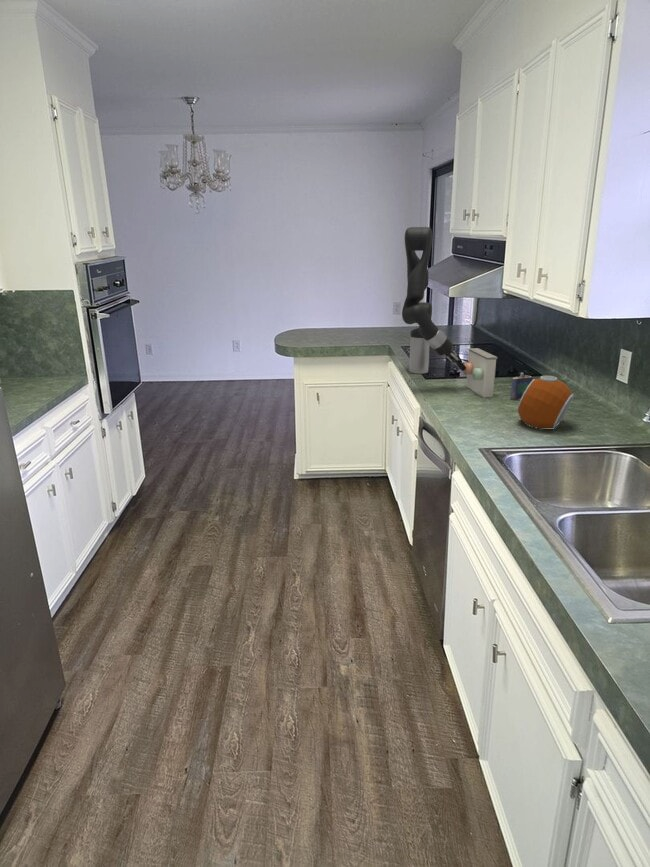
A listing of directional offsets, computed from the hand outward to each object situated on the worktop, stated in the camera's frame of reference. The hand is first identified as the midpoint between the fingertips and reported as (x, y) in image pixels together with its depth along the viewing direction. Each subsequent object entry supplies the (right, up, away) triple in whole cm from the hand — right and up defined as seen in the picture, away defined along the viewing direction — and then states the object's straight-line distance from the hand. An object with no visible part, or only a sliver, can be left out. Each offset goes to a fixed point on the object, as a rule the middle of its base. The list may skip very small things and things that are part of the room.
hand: (464, 369), depth 250 cm
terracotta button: (+5, -2, +2) cm, 5 cm away
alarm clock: (+18, -25, -42) cm, 52 cm away
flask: (+20, -13, -11) cm, 27 cm away
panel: (+6, -10, -1) cm, 12 cm away
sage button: (+6, -5, -8) cm, 11 cm away
